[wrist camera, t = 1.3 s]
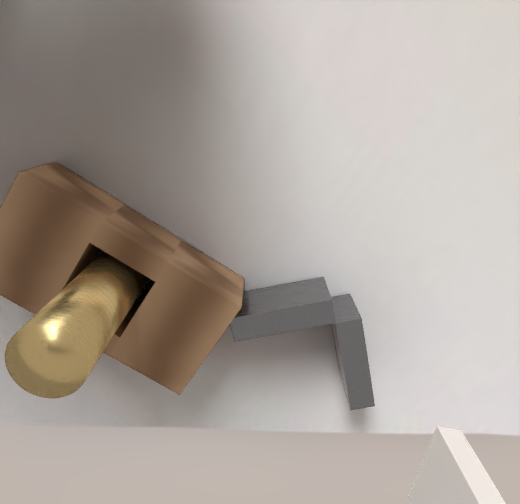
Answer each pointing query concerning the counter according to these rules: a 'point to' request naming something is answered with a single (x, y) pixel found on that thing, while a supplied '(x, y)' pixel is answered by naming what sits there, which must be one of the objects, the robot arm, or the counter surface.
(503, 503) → the robot arm
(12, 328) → the counter surface
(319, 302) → the v block
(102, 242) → the wooden block with hole
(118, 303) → the axle
